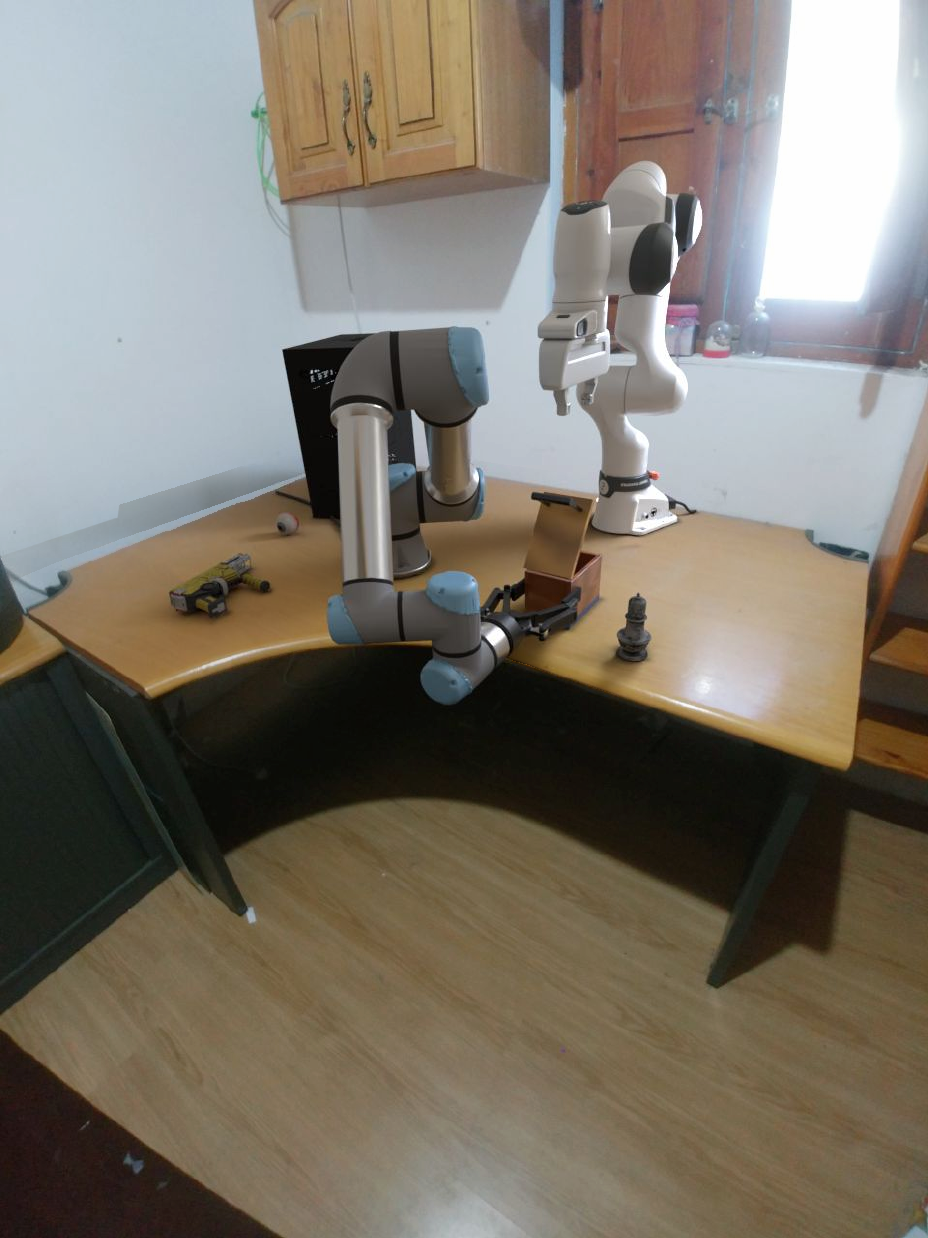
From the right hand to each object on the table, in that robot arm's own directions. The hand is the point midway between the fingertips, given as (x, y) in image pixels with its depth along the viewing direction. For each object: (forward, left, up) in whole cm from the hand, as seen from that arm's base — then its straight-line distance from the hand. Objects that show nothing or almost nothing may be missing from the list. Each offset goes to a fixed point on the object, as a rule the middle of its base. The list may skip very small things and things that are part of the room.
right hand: (575, 409), depth 105 cm
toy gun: (+62, -40, -38) cm, 83 cm away
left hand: (+6, +4, -32) cm, 32 cm away
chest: (+2, +1, -38) cm, 38 cm away
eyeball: (+44, -70, -38) cm, 91 cm away
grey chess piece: (+1, +22, -38) cm, 44 cm away
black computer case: (+16, -88, -38) cm, 98 cm away
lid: (+4, +3, -22) cm, 22 cm away
